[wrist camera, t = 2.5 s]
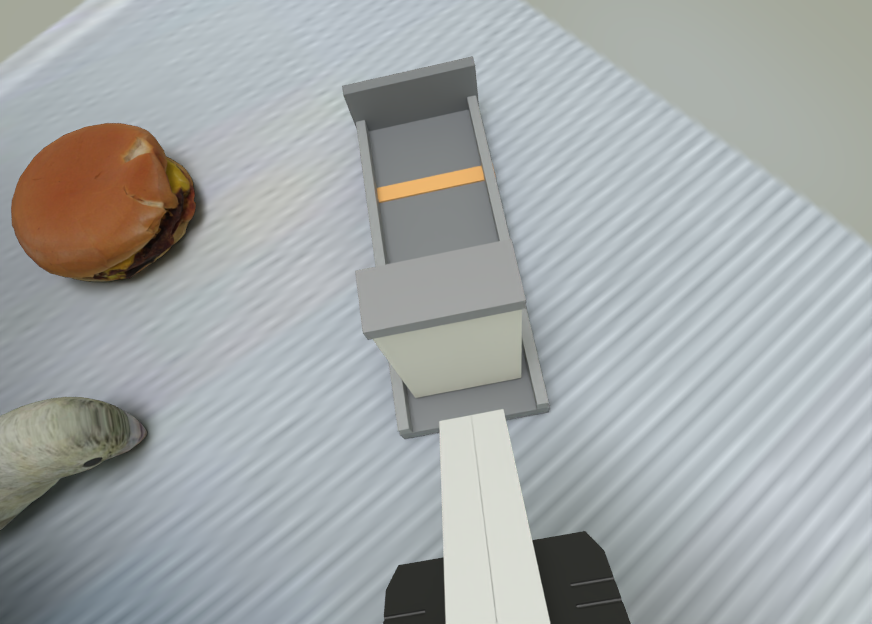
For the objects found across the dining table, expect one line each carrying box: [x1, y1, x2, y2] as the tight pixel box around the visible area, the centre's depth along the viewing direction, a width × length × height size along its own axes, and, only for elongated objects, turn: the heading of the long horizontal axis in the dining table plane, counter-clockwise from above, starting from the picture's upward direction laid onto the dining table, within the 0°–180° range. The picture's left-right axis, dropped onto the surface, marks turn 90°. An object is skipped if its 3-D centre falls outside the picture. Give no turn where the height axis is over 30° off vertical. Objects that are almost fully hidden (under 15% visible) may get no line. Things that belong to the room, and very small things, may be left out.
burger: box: [11, 123, 196, 281], centre depth 34 cm, size 10×9×5 cm
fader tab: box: [355, 239, 526, 398], centre depth 23 cm, size 2×5×10 cm, turn 99°
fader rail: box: [342, 57, 550, 439], centre depth 30 cm, size 18×7×4 cm, turn 9°
